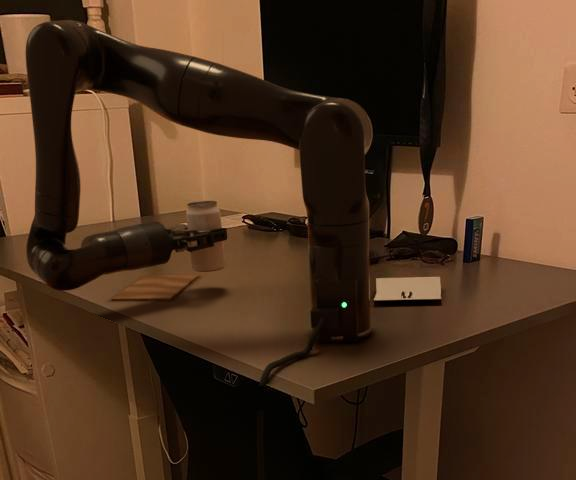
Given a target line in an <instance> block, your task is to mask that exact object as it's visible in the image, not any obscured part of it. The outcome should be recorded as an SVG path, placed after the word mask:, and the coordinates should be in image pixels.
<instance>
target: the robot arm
mask: <svg viewBox="0 0 576 480" xmlns="http://www.w3.org/2000/svg"><path fill="white" fill-rule="evenodd" d="M25 43H26V44H25V67H26V74H27V75H26V78H27V85H28V93H29V100H30V110H31V119H32V128H33V129H32V130H33V138H34V139H33V140H34V152H35V153H34V155H35V181H34V182H35V185H34V216H33V218H32V219H33V220H32V222H31V224H30V228H29V232H28V236H27V240H26V246H25V248H26V249H25V253H26V260H27V264H28V266H29V268H30V270H31V271H32V272H33V273H34V274H35V275H36V276H37V277H38V278H39V279H40V280H42V281H43V283H44V284H46V285H47V286H48V287H49V288H50V289H52V290H55V291H60V292H63V291H64V292H65V291H66V292H67V291H73V290H76V289H79V288H81V287H83V286H85V285H87V284H89V283H91V282H93V281H95V280H96V279H98V278H99V277H102V276H105V275H110V274H111V275H112V274H115V273H116V274H117V273H121V272H129V271H137V270H142V269H146V268H151V267H156V266H160V265H165V264H167V263H168V262H169V261H170V258H171V256H172V253H173V251H174V252H175V253H184V252H185V251H187V253H188V252H189V253H190V252H192V251H196V250H200V249H204V248H208V247H213V246H214V243H215V242H220V241H223V242H225V241H227V240H228V230H227V228H225V227H222V228H218V229H213V230H206V231H197V229H188V228H187V225H183V226H180V225H173V226H169V227H165V225H163V223H161V222H160V221H156V220H155V221H149V222H143V223H137V224H133V225H127V226H123V227H120V228H116V229H114V230H113V229H112V230H108V231H107V230H106V231H103V232H96V233H93V234H90V235H89V234H88V235H87V236H86V237H84V238H83V239H82V241H81V242H80V247H78V248H72V249H71V248H69V247H68V246H67V244H66V241H67V240H66V239H67V235H68V234H70V233H72V232H74V231H75V230H76V229H77V227H78V224H79V219H80V206H81V205H80V204H81V192H82V191H81V186H82V185H81V172H80V167H79V162H78V158H77V154H76V150H75V146H74V141H73V133H72V115H73V107H74V102H75V97H76V93H77V92H82V91H95V92H102V93H109V94H113V95H116V96H122V97H125V98H128V99H130V100H134V101H135V102H137V103H139V104H141V105H142V106H144V107H146V108H148V109H149V110H150V111H152V112H153V113H155V114H157V115H158V116H159V117H162V118H164V119H165V120H167V121H169V122H172V123H174V124H176V125H179V126H182V127H185V128H188V129H191V130H196V131H199V132H202V133H206V134H209V135H215V136H220V137H227V138H233V139H243V140H255V141H265V142H273V143H275V144H280V145H283V146H286V147H289V148H292V149H296V150H298V151H299V166H300V180H301V192H302V200H303V205H304V207H305V210H306V219H307V220H306V221H307V240H308V241H307V244H308V246H307V247H308V265H309V288H310V307H311V309H310V328H311V335H310V336H309V339H308V342H307V344H306V346H305V348H304V349H303V350H300V351H297V352H293V353H291V354H288V355H286V356H284V357H281V358H279V359H278V360H274V361H271V362H270V363H268V364H267V365H266V366H265V368H264V370H263V372H262V375H261V377H260V381H259V386H266V385H267V383H268V380H269V377H270V375H271V373H272V371H273V370H274V369H276V368H279V367H282V366H284V365H285V364H288V363H289V362H292V361H295V360H297V359H302V358H305V357H307V356H308V355H309V354H310V353H311V352H312V350H313V349H314V346H315V344H316V340H317V342H319V343H324V342H325V343H356V342H358V341H359V340H361V339H363V338H366V337H368V336H369V335H370V334H371V333H372V325H371V277H370V276H371V271H370V270H371V268H370V267H371V266H370V265H371V263H370V257H371V256H370V254H369V249H370V200H369V199H368V194H367V188H366V163H365V162H366V161H365V158H366V157H365V155H366V154H367V153H368V151H369V149H370V147H371V145H372V141H373V137H374V136H373V134H374V133H373V125H372V122H371V119H370V117H369V116H368V113H367V112H366V110H365V109H364V108H363V107H362V106H361V105H360V104H359V103H357V102H355V101H353V100H351V99H349V98H343V97H333V96H327V95H319V94H313V93H309V92H302V91H297V90H293V89H289V88H285V87H282V86H279V85H277V84H274V83H272V82H270V81H267V80H265V79H263V78H260V77H257V76H255V75H252V74H250V73H247V72H244V71H243V70H239V69H236V68H233V67H230V66H228V65H224V64H221V63H219V62H215V61H211V60H208V59H204V58H201V57H198V56H194V55H189V54H184V53H181V52H176V51H171V50H166V49H162V48H156V47H149V46H143V45H139V44H136V43H132V42H130V41H127V40H124V39H122V38H119V37H117V36H114V35H112V34H110V33H107V32H105V31H103V30H100V29H98V28H96V27H94V26H92V25H89V24H86V23H84V22H81V21H78V20H73V19H64V20H50V21H49V20H48V21H44V22H41V23H39V24H37V25H36V26H35V27H33V28H32V30H30V32H29V34H28V36H27V39H26V42H25ZM190 233H193V234H194V235H193V236H191V234H190ZM204 237H205V242H204ZM264 412H265V411H264V410H263V409H262V410H261V409H259V410H257V409H256V459H257V460H256V463H257V480H265V461H264V459H265V457H264V455H265V454H264V417H265V416H264V415H265V413H264Z"/></svg>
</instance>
